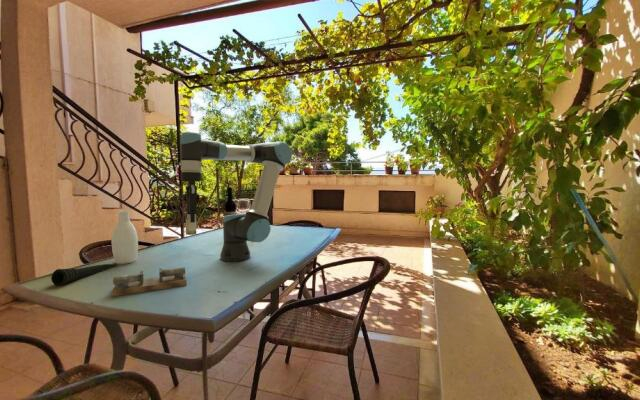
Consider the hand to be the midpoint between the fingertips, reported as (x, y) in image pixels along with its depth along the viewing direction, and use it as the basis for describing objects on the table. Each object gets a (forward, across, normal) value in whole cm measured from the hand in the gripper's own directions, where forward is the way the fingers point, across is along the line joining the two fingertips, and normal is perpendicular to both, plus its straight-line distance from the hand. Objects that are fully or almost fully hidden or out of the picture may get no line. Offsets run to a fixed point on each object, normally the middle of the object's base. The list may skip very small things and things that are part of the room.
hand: (191, 229), depth 121 cm
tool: (+22, -29, -39) cm, 53 cm away
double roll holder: (+21, 0, -14) cm, 26 cm away
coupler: (+2, 0, 0) cm, 2 cm away
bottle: (+21, -45, -26) cm, 56 cm away
